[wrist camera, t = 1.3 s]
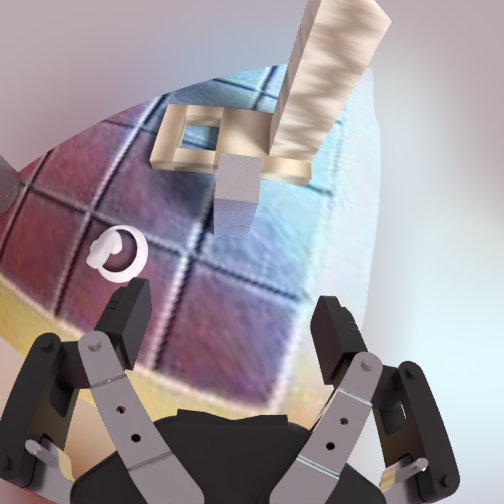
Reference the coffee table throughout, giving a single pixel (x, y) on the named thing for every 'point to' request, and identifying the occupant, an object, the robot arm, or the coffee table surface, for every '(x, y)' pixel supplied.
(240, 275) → the coffee table surface
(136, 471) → the robot arm
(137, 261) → the white vr controller
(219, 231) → the smooth gray rectangular block
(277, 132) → the beam with square loop
